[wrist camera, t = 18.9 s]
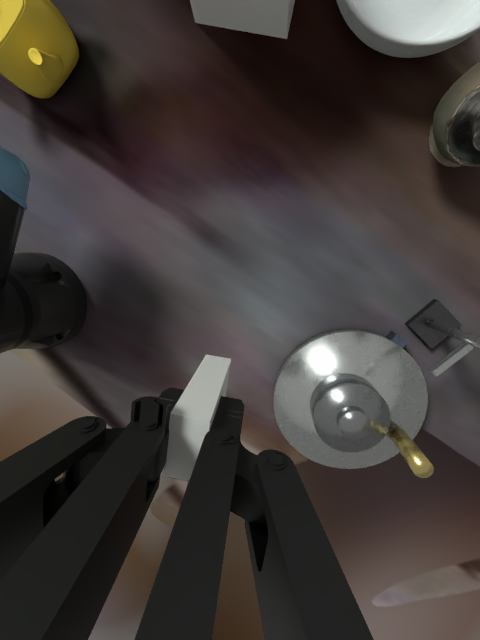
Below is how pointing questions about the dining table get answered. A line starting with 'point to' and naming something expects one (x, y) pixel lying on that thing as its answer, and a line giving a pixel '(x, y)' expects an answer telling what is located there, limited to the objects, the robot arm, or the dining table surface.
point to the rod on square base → (441, 333)
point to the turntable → (373, 365)
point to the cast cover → (349, 413)
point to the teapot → (36, 46)
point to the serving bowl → (411, 24)
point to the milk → (246, 15)
